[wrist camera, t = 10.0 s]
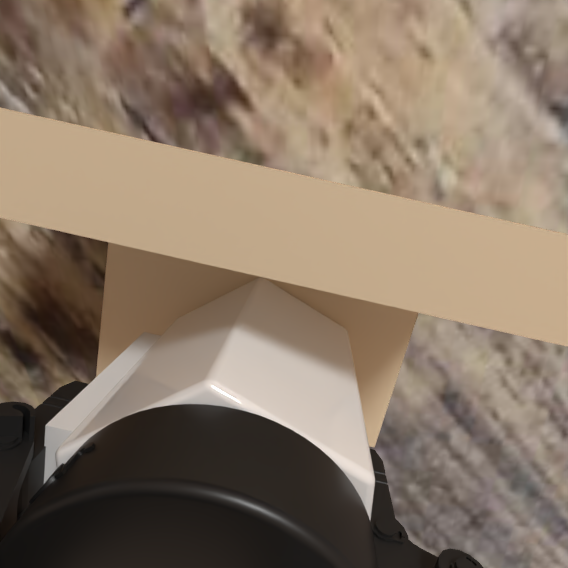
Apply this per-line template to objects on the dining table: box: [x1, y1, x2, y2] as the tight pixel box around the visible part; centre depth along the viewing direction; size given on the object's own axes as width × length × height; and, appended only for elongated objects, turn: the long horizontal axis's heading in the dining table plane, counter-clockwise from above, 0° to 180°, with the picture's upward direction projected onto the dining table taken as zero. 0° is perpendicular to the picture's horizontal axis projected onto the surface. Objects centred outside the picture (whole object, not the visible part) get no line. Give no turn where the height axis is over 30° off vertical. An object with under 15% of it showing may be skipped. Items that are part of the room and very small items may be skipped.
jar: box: [0, 277, 378, 568], centre depth 14 cm, size 9×8×12 cm
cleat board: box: [0, 108, 568, 447], centre depth 16 cm, size 18×12×11 cm, turn 78°
